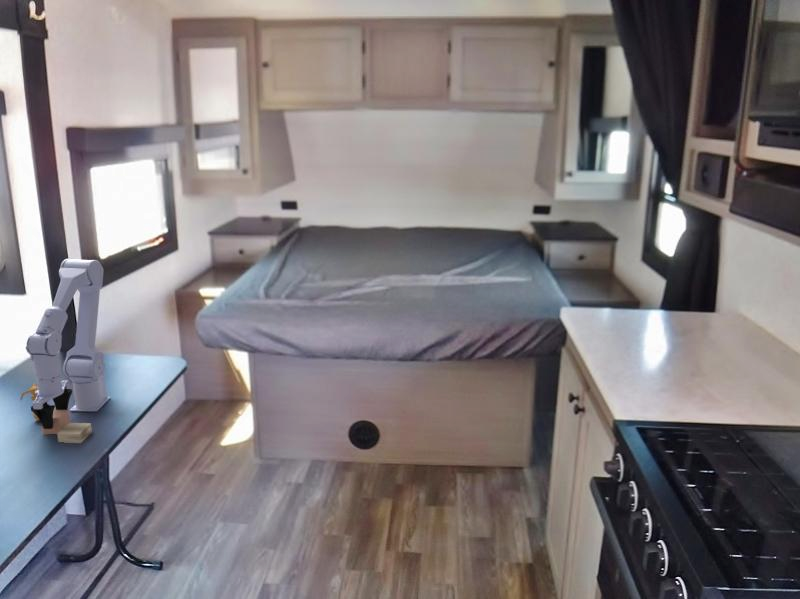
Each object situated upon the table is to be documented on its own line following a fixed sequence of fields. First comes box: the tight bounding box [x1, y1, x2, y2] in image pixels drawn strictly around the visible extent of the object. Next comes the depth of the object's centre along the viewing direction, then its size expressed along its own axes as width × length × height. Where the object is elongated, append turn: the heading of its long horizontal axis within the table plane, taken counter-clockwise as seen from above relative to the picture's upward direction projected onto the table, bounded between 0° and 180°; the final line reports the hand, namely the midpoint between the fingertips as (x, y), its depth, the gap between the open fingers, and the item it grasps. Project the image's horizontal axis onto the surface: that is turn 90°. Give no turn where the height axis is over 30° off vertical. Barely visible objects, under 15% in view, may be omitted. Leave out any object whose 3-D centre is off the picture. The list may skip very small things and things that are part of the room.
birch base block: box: [57, 422, 93, 444], centre depth 170 cm, size 6×6×3 cm
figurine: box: [19, 383, 40, 421], centre depth 177 cm, size 8×6×12 cm
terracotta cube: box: [41, 409, 71, 435], centre depth 173 cm, size 5×5×5 cm
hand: (55, 421), depth 173 cm, fingers open, 7 cm apart
